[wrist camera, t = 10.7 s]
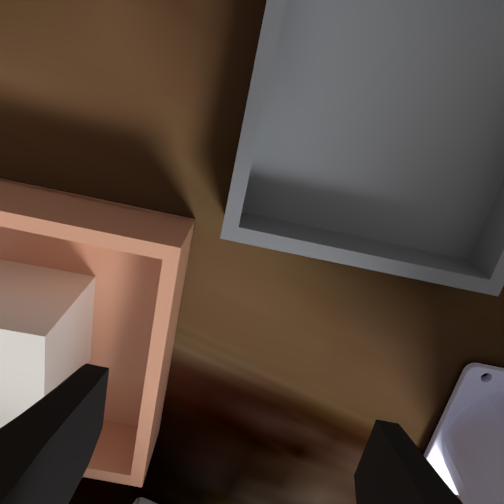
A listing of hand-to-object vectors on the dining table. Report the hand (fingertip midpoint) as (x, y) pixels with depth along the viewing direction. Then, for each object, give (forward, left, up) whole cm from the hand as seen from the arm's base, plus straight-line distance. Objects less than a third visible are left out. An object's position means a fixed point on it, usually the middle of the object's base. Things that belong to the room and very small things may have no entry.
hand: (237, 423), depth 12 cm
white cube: (+9, +4, -9) cm, 13 cm away
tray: (-4, -8, -9) cm, 13 cm away
